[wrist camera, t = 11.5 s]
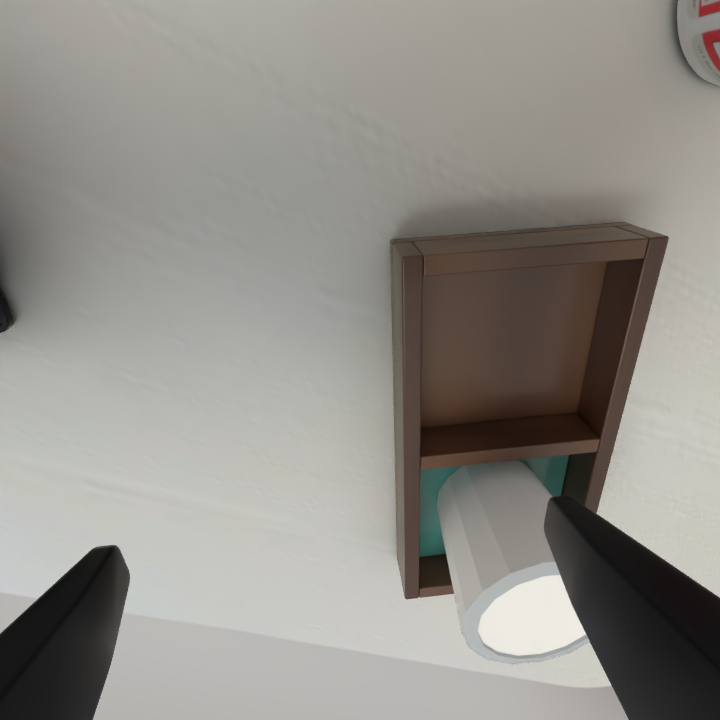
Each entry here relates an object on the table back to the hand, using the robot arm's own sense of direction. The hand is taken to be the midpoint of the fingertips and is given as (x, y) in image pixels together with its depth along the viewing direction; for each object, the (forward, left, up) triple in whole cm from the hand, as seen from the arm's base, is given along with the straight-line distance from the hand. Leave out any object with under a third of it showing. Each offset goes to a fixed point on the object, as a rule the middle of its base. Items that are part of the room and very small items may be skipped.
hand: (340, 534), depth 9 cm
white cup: (+8, -11, -11) cm, 18 cm away
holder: (+8, -6, -12) cm, 16 cm away
